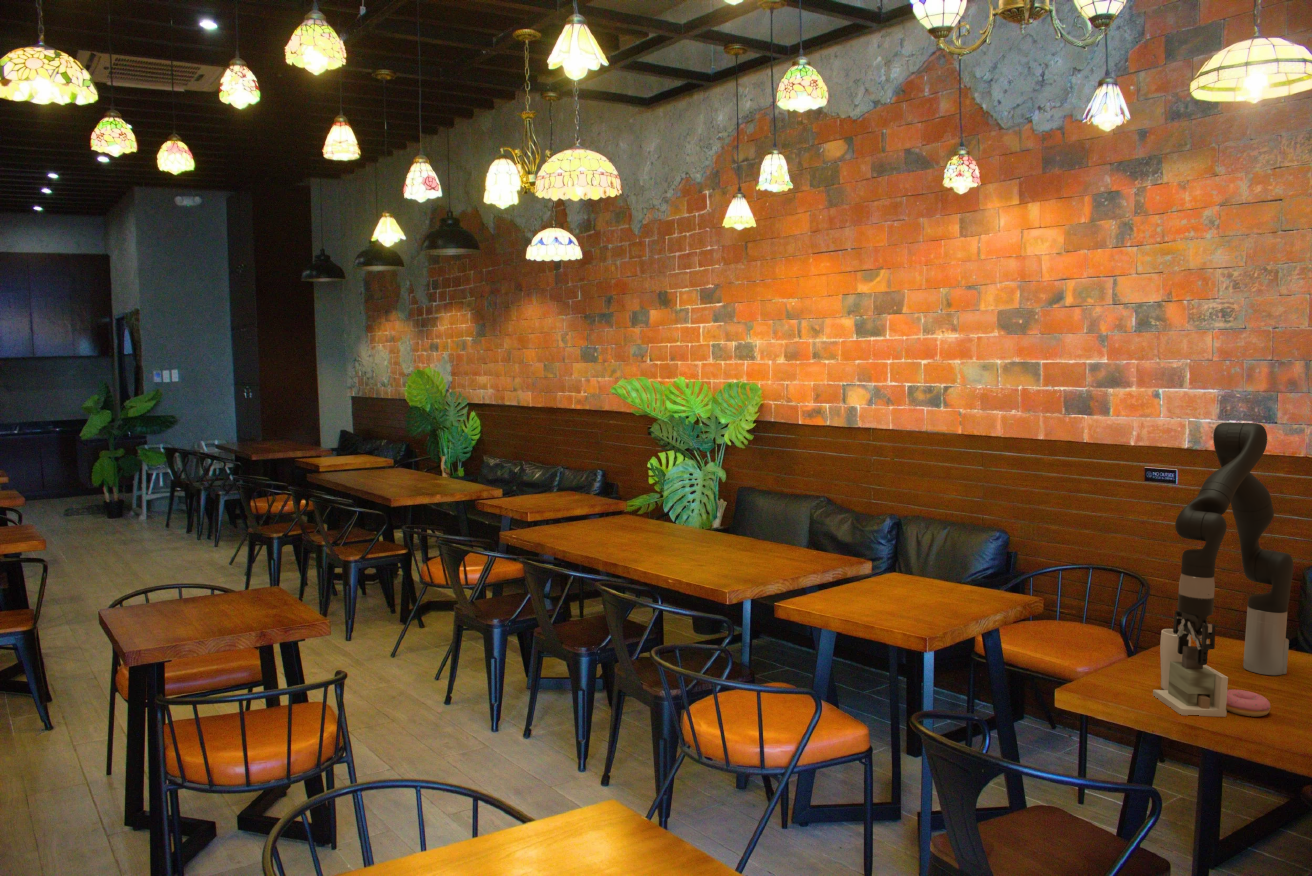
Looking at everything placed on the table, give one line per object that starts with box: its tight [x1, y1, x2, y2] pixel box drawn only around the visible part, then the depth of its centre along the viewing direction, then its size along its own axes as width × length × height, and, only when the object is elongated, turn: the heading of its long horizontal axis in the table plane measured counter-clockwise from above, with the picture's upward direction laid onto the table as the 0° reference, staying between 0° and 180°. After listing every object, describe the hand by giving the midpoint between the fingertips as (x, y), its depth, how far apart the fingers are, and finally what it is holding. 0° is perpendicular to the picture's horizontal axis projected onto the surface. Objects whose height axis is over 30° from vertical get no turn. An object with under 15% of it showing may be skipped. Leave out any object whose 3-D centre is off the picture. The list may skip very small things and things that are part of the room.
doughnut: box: [1226, 688, 1272, 718], centre depth 231 cm, size 11×11×4 cm
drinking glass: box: [1159, 628, 1192, 690], centre depth 244 cm, size 7×7×15 cm
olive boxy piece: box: [1168, 645, 1215, 707], centre depth 233 cm, size 6×9×13 cm, turn 179°
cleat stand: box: [1152, 664, 1229, 718], centre depth 233 cm, size 10×14×10 cm
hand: (1191, 659), depth 232 cm, fingers open, 8 cm apart
